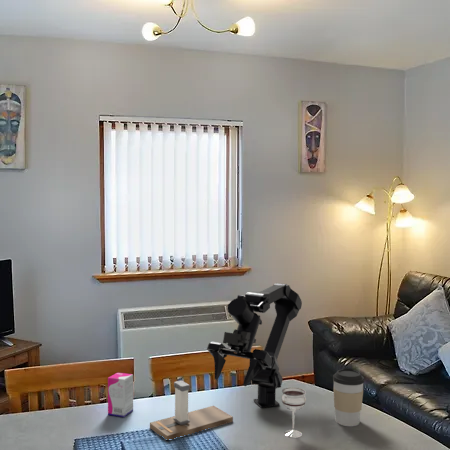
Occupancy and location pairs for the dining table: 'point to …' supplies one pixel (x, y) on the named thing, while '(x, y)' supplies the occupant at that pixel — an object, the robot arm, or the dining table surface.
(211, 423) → the wooden board
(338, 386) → the coffee cup
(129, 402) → the supplement box
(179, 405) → the lever
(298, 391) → the wineglass
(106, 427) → the dining table surface
